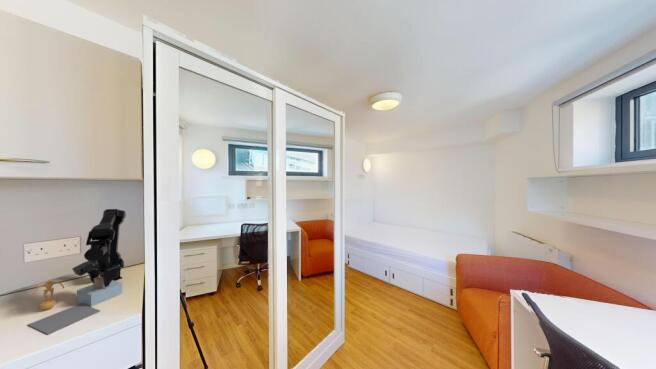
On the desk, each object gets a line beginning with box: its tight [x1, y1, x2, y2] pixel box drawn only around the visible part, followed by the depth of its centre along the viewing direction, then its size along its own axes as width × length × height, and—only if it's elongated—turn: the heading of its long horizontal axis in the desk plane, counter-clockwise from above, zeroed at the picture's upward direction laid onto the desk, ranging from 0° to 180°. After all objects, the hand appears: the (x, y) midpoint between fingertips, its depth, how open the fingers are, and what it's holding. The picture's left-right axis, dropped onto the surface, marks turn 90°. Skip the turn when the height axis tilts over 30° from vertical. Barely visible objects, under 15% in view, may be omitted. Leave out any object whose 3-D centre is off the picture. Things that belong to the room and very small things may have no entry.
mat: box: [27, 303, 101, 336], centre depth 82 cm, size 14×14×1 cm
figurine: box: [31, 280, 65, 311], centre depth 87 cm, size 8×6×12 cm
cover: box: [75, 276, 123, 308], centre depth 96 cm, size 11×11×10 cm
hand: (100, 284), depth 96 cm, fingers open, 9 cm apart
